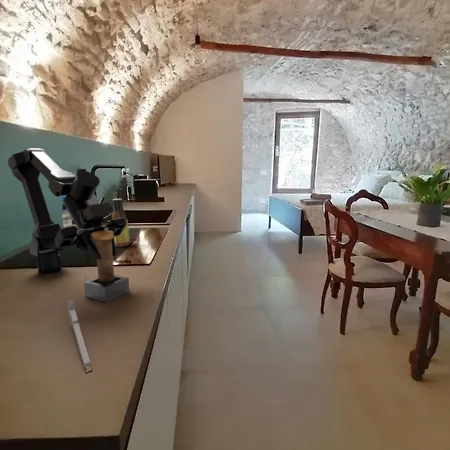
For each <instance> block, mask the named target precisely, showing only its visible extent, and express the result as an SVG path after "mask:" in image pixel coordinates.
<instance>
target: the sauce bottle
mask: <svg viewBox="0 0 450 450" xmlns="http://www.w3.org/2000/svg"><path fill="white" fill-rule="evenodd" d="M123 203H124V201H123V198H113V199H112V206H113V209H114V210H113V212H112V214H111V219H115V218H124V219H125V221H126V222H127V225H126V227H125V228H124V230H123V231H122V233H121V234H120V235H119V236H115V237H114V242H115V247H118V248H122V247H128V246H129V245H130V233H129V224H128V217H127V214H126V212H125V210H124V205H123Z"/></svg>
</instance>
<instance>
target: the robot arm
mask: <svg viewBox="0 0 450 450" xmlns="http://www.w3.org/2000/svg"><path fill="white" fill-rule="evenodd" d="M7 163H8V168H10V170H11V173H12V175H13V177H15V178H16V179H17V180H18V181H19V182H20V183H21V184H22V187H23V190H24V194H25V198H26V200H27V203H28V204H27V205H28V207H29V211H30V213H31V217H32V220H33V222H34V227H33V231H32V233H31V236H32V237H31V238H32V240H31V242H30V245H29V247H28V250H29V252H30V255H32V256H35V257H36V262H37V274H38V275H43V274H51V273H58V272H61V271H62V268H63V265H62V256H61V254H60V253H59V252H62V251H64V248H69V247H70V246H71V243H72V242H73V244H72V248H74V249H78V250H80V251H83V252H85V253H86V254H88V255H89V256H91V257H93V258H94V259H96V261H97V260H100V259H101V256H100V254H99V252H98V250H97V249H96V245H95V244H94V242H93V239H92V237H91V236H92V233H93V232H96V231H103V230H110V231H113V236H114V237H115V236H119V235H120V234H121V233H122V231H123V230H124V228H125V227H126V225H127V222H126V221H125V219H124V218H115V219H112V218H111V219H110V220H109V221H108V223H107V224H103V223H104V222H105V218H106V217H107V216H111V215H110V214H111V213H112V214H113V211H114V206H113V203H111V202H110V201H109V200H108V201H107V200H106V201H103V202H102V203H99V204H95V205H91V206H90V204H89V203H88V201H87V200H90V199H91V198H92V197H93V195H95V193H96V191H97V189H98V187H99V186H100V178H99V177H98V176H97V175H95V174H94V173H92V172H90V171H87V169H86V168H78V169H77V171H76V174H74V173H73V172H70V171H67V170H64V169H62V168H61V167H60V166H59V165H58V164H57V163H56V162H55V161H54V160H53V159H52V158H51V157H50V156H49V155H48V154H47V153H46V151H45V149H42V148H31V147H29V148H27V149H26V148H25V149H24V150H22V151H20V152H16V153H13V154H12V155H11V156H10V157H9V158H8V160H7ZM40 174H41V175H43V177H44V178H45V179H46V180H47V181H48V185H47V186H48V189H49V190H50V192H51V193H52V194H53V196H54V197H56V198H57V197H58V198H59V197H62V196H66V197H65V199H64V201H62V205H61V210H62V209H63V210H66V209H67V210H68V212H69V214H70V215H71V217H72V219H73V220H72V222H71V223H72V224H73V225H76V226H77V227H76V226H68V227H64V226H63V227H61V226H60V224H59V223H55V222H54V221H53V220H52V219H51V218H52V217H51V215H50V212H49V208H48V205H47V202H46V199H45V196H44V193H43V188H42V187H41V184H40V180H39V177H40ZM102 224H103V225H102ZM77 228H78V229H77ZM70 239H72V240H70ZM111 241H112V254H113V257H115V256H116V255H117V251H116V250H117V249H116V246H115V242H114V238H112V239H111Z"/></svg>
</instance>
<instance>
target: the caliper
mask: <svg viewBox="0 0 450 450" xmlns="http://www.w3.org/2000/svg"><path fill="white" fill-rule="evenodd" d="M67 311H68V320H69V321H68V322H69V325H70V328H71V327H72V328H71V329H72V331H73V332H74V336H75V339H76V343H77V347H78V350H79V354H80V355H79V356H80V357H81V361H82V360H83V362H82V364H83V363H84V365H83V367H84V366H85V367H87V366H88V367H89V365H90V366H91V367H92V364H91V359H90V356H89V353H88V350H87V346H86V344H85V343H86V342H85V340H84V337H83V334H82V330H81V328H80V327H81V326H80V324H79V323H80V322H79V319H78V316H77V312H76V309H75V303H74V300H73V299H70V300H67Z"/></svg>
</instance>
